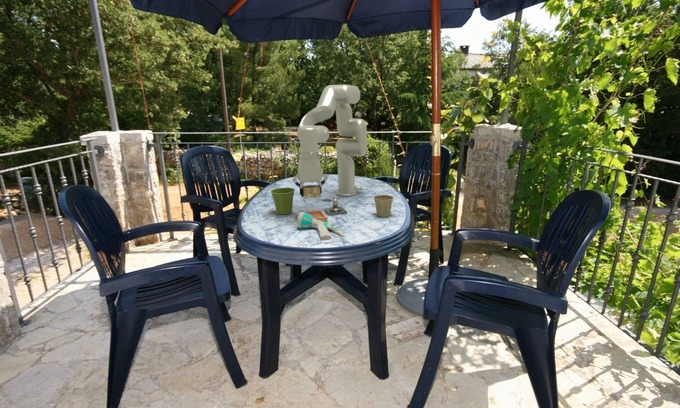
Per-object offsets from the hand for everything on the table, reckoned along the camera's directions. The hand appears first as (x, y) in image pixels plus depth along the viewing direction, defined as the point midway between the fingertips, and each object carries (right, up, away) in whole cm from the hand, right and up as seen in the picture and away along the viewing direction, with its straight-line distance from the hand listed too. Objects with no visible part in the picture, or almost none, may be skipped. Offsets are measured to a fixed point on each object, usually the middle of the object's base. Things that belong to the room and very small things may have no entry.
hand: (310, 195), depth 156 cm
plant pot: (-14, -8, +14) cm, 21 cm away
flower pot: (+33, -9, +7) cm, 35 cm away
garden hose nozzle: (+4, -16, -11) cm, 20 cm away
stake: (+11, -8, +13) cm, 19 cm away
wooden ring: (0, 0, 0) cm, 0 cm away
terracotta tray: (0, -11, +3) cm, 11 cm away
